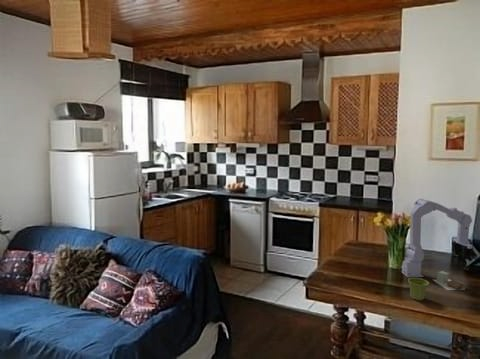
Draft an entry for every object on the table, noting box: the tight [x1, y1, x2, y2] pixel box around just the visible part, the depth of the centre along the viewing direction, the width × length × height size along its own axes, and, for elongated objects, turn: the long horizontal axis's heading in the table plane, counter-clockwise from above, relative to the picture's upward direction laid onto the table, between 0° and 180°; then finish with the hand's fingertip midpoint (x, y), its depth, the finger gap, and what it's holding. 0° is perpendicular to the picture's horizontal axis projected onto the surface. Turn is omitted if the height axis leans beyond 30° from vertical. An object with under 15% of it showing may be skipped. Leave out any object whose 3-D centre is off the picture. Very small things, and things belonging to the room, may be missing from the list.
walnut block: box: [447, 279, 466, 291], centre depth 210 cm, size 6×6×2 cm
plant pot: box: [407, 277, 430, 301], centre depth 197 cm, size 9×9×9 cm
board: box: [432, 278, 466, 291], centre depth 213 cm, size 10×14×1 cm
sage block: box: [436, 270, 450, 283], centre depth 217 cm, size 4×4×5 cm
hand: (461, 257), depth 229 cm, fingers open, 7 cm apart
